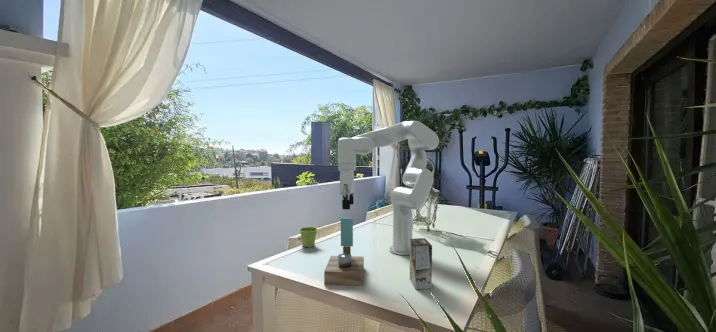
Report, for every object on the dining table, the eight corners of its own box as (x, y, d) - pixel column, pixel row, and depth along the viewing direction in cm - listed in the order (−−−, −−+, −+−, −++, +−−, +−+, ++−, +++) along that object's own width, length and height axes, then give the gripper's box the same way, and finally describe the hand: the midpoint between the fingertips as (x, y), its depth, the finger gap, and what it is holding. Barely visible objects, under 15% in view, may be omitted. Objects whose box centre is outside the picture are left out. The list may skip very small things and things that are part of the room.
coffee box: (432, 288, 111) (432, 245, 110) (415, 289, 111) (415, 246, 109) (424, 277, 120) (425, 237, 119) (408, 278, 120) (409, 238, 119)
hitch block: (331, 267, 131) (330, 245, 130) (363, 268, 130) (363, 246, 129) (324, 284, 115) (324, 259, 114) (361, 285, 114) (361, 260, 113)
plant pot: (312, 241, 165) (311, 225, 165) (321, 246, 158) (321, 229, 157) (296, 245, 160) (296, 228, 159) (305, 250, 152) (304, 232, 152)
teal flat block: (340, 246, 128) (341, 245, 129) (352, 246, 128) (352, 245, 129) (340, 218, 127) (340, 217, 128) (352, 218, 127) (352, 217, 128)
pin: (352, 274, 123) (351, 253, 122) (350, 279, 118) (350, 258, 117) (339, 273, 123) (339, 253, 123) (337, 279, 118) (337, 257, 117)
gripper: (342, 165, 139) (343, 202, 140) (334, 169, 122) (335, 211, 123) (358, 165, 138) (359, 202, 139) (352, 168, 121) (354, 211, 122)
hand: (348, 206), depth 131 cm, fingers open, 9 cm apart
